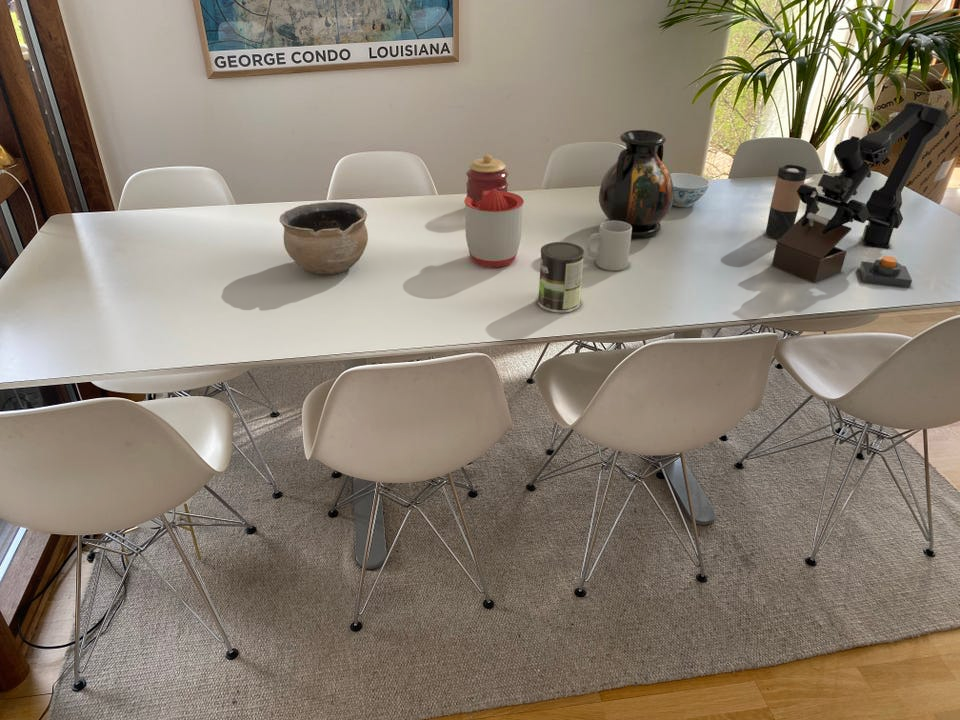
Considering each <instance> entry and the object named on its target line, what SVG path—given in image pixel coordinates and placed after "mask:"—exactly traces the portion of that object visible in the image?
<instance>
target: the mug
mask: <svg viewBox="0 0 960 720" xmlns="http://www.w3.org/2000/svg"><path fill="white" fill-rule="evenodd" d="M605 221H606V220H605ZM605 221H603V222H601V224H599V230H598V232H595V233H591V234H590V235H589V236H588V238H587V241H586V254H587V255H588V257H589V258H594V259H595V258H596V265H597V267H598V268H600V269H603V270H605V271H612V272H617V271H622V270H625V269H627V268H628V266H629V259H630V251H631V250H630V249H631V242H632V241H631V240H632V238H631V233H632V226H631V225H630V224H628V223H626V222H622V221H606V222H605ZM594 240H598V242H597V249H596V251H592V250H591V246H592V243H593V241H594Z"/></svg>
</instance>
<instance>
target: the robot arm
mask: <svg viewBox="0 0 960 720" xmlns="http://www.w3.org/2000/svg"><path fill="white" fill-rule="evenodd" d="M947 112H948V111H947V109H946V108H942V107H939V106H938V107H937V106H933V105H929V104H926V103H921V102H918V101H917V102H916V101H909V102H907V103H906V104H905V106H904V107H903V109H901V111H900V112H898V113H897V115H895V116H894V117H893V118H892V119H890V121H888V122H887V123H886V124H885V125H884V126H883V127H882V128H881V129H879V130H877V131H873V132H869V133H868V134H866V135H864V136H863V137H861V138H860V137H858V136H852V135H851V136H850V138H849V139H845V140H842V141H840V142H839V143H837V144H836V145H835V147H834V150H833V153H834V156H835V159H836V161H837V163H838V165H839V168H840V169H841V171H840V173H839V175H834V176H832V175H829V174H825V173H823V174H822V176H821V178H820V179H819V182H818V183H817V187H821V188H822V189H821V191H822V193H823V194H821V193H819V192H818V190H817V187H815V186H812V185H809V184H806V183H804V184H803V185H801V186H800V187H799V188H798V189H797V193H798V195H799V197H800V199H801V200H800V202H801V203H803V204H805V205H806V207H805V211H804V214H803V215H804V217H803V221H802V226H803V227H804V226H805V225H806V224H807V223H808V222H809V219H808V218H807V215H808V213H813V214H816V215H817V213H818V212H819V211H820V207H819V204H820V203H821V204H824V205H826V206H830V207H833V208H835V209H836V211H835V213H834V215H833V216H832V217H831V218H830V221H829V222H828V224H827V225H826V226H825V228H824V229H823V231H822V233H823V234H826V233H827V232H829V231H831V230H833V229H835V228H837V227H838V226H841V225H845V224H848V223H853V222H854V221H856V222H858V223H861V224H865V223H866V221H868V223H867V224H865V225H864V228H863V232H862V236H861V238H862V241H863V243H864V245H865V246H866V247H875V248H885V249H890V247H891V245H890V242H891V238H892V235H893V231H894V229H899V227H900V226H901V224H902V222H903V220H904V217H903V215H902V212H901V208H902V205H903V197H902V192H903V190H904V188H905V186H906V184H907V182H908V180H909V178H910V176H911V174H912V172H913V171H914V169H915V166H916V165H917V163H918V161H919V159H920V157H921V155H922V153H923V151H924V150H925V147H926V145H927V144H928V142H930V141H931V140H932V139H934V138H935V137H937V136H938V135H939V134H940V132H941V131H942V130H943V128H944V127H945V126H946V124H947V123H948V121H949V114H948V113H947ZM907 132H908V137H907V139H906V142H905V143H904V145H903V147H902V149H901V151H900V153H899V155H898V157H897V159H896V161H895V163H894V165H893V167H892V168H891V170H890V172H889V175H888V177H887V178H886V181H885V183H884V184H883V186H882V187H880V188H879V189H874V190H872V192H871V194H870V196H869V199H868V200H867V201H866V203H865V202H862V201H858V200H856V199H851V198H852V196H857V194H858V191H857V189H858V188H859V186H861V184H862V183H863V181H864V180H865V179H866V178H869V179H870V178H871V176H872V172H871V169H872V167H871V166H870V165H869V163H871V164H875V165H880V164H881V163H883V162H884V161H885V160H886V159H887V158H888V156H889V155H890V154H891V151H892V147H893V145H894V144H895V143H897V141H898V140H900V139H901V138H902V137H903V136H904V135H906V133H907Z"/></svg>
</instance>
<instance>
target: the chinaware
mask: <svg viewBox="0 0 960 720" xmlns="http://www.w3.org/2000/svg"><path fill="white" fill-rule="evenodd" d="M670 175H671V178H672V182H673V191H674V199H673V205H672V206H675V207H678V208H689V207H691V206H693V204H694V203H696V202H698V201H699V200H700V199H701V198H703V196H704V195H705V193H706V192H707V190H708V188H709V185H710V181H709V180H708V179H707V178H706V177H704V176H701V175H698V174H693V173H685V172H674V173H670Z"/></svg>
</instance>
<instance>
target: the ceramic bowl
mask: <svg viewBox="0 0 960 720" xmlns="http://www.w3.org/2000/svg"><path fill="white" fill-rule="evenodd" d="M367 216H368V213H367V211H366V210H365V209H364V208H363V206H360V205H359V204H356V203H352V202H346V201H326V202H317V203H316V202H315V203H310V204H301V205H298V206H296V207H295V206H294V207H293V208H291V209H289V210H286V211H285V212H283V213H282V214H280V216H279V219H278V221H279V223H280V225H282V227H283V245H284V249H285V251H286V252H287V254H288V256H289V257H290V258H291V259H292V260H293V261H294V262H295V263H296V264H297V265H298V266H299V267H301V268H303V269H304V270H306V271H308V272H310V273H311V274H312V273H313V274H316V275H336V274H337V275H338V274H340V273H344V272H346V271H348V270H349V269H351V268H352V267H353V266H354V265H355V264H357V262H358V261H359V260H360V259H361V257H362V256H363V254H364V253H365V250H366V247H367V246H368V240H369V234H368V228H367V226H366V225H367V224H366V220H367Z"/></svg>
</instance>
